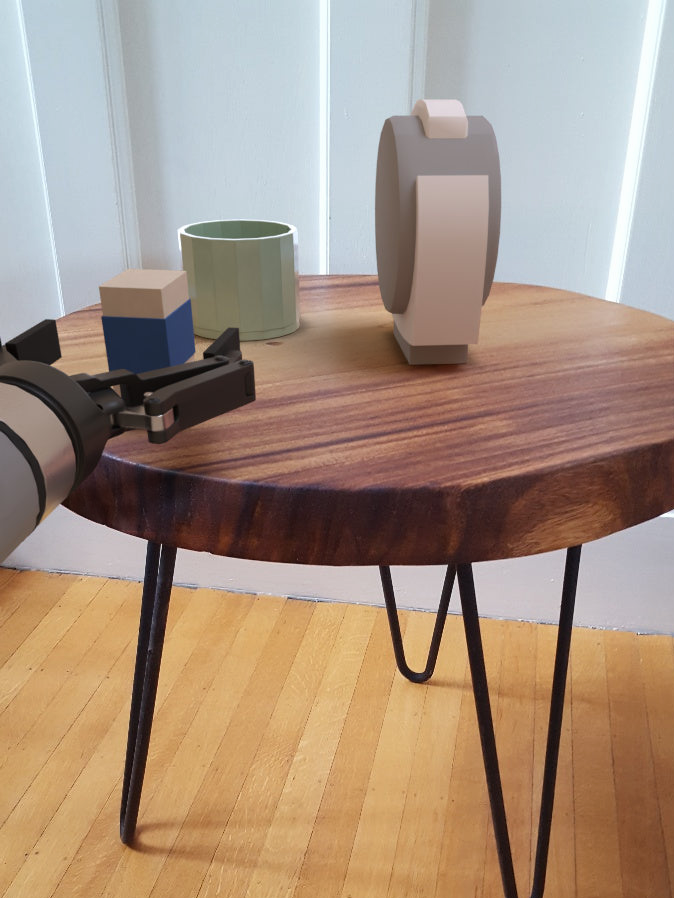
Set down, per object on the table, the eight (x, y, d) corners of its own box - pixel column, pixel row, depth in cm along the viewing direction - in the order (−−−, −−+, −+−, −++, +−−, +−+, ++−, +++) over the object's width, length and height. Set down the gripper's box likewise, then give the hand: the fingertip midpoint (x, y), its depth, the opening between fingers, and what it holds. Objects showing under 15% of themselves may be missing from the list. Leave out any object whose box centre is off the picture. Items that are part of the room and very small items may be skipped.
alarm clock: (493, 375, 83) (514, 107, 72) (396, 377, 82) (403, 106, 71) (453, 322, 98) (466, 93, 87) (371, 324, 97) (373, 93, 86)
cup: (173, 338, 92) (162, 237, 87) (205, 310, 101) (197, 217, 96) (287, 343, 91) (283, 241, 86) (308, 314, 100) (306, 221, 95)
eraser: (116, 426, 72) (96, 286, 66) (143, 400, 77) (127, 268, 71) (177, 429, 71) (162, 289, 66) (200, 403, 76) (188, 270, 71)
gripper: (-180, 498, 55) (-9, 385, 73) (243, 526, 52) (314, 402, 70) (-224, 367, 51) (-31, 281, 68) (233, 391, 48) (311, 295, 66)
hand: (143, 342), depth 69 cm, fingers open, 13 cm apart
